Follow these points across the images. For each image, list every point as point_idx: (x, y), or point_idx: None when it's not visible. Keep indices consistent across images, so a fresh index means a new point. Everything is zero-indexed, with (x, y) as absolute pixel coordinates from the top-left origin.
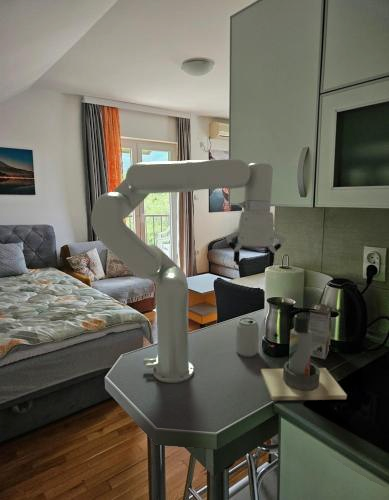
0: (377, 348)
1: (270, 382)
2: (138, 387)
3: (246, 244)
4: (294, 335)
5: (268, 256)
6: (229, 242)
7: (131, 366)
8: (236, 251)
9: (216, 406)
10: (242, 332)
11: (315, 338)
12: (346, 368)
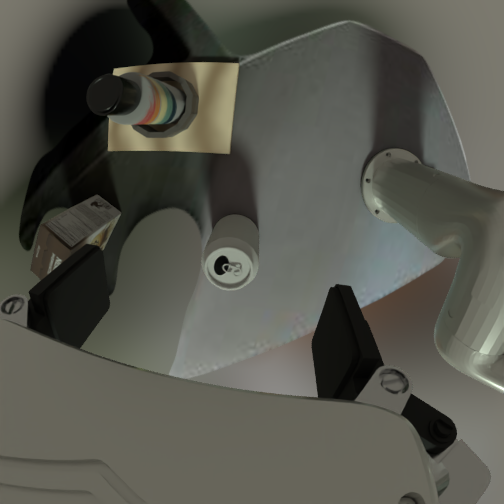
0: (25, 224)
1: (226, 104)
2: (445, 154)
3: (318, 411)
4: (150, 82)
5: (78, 324)
6: (449, 445)
7: None
8: (384, 367)
9: (340, 68)
10: (249, 240)
11: (92, 216)
12: (77, 161)
